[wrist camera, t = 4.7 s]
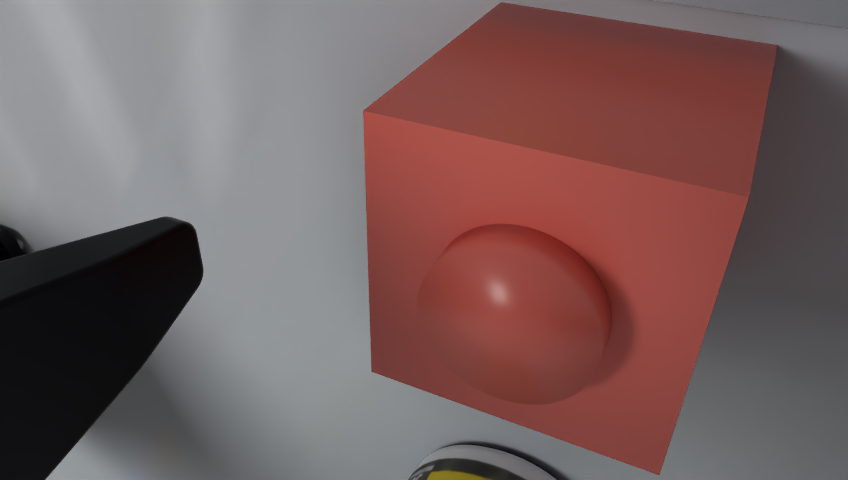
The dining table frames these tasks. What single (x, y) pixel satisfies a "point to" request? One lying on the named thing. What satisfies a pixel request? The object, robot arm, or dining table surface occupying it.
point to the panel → (781, 9)
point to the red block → (561, 219)
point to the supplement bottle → (476, 465)
